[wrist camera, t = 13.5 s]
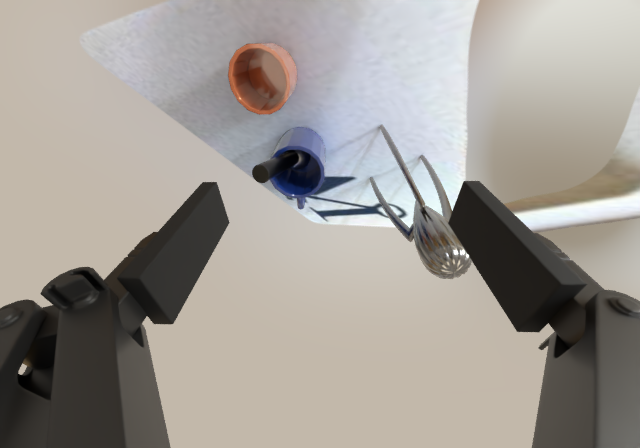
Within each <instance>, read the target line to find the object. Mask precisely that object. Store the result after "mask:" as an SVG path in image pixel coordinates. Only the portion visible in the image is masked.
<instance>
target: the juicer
mask: <svg viewBox="0 0 640 448" xmlns="http://www.w3.org/2000/svg"><path fill="white" fill-rule="evenodd" d="M380 129H381V131H382V133H383V135H384V138H385V140H386V142H387V144H388V146H389V147H390V149H391V151H392V153H393V155H394V157H395V159H396V161H397V163H398V165H399V167H400V169H401V170H402V172H403V174H404V176H405V178H406V180H407V182H408V184H409V186H410V188H411V190H412V192H413V194H414V196H415V199H416V201H415V208H414V218H413V224H412V226H411V227H410V228H409V227H408V226H407V225H406V224H405V223H403V222H402V221H401V220H400V218H399V217H398V216H397V215H396V214H395V213H394V212H393V210H392V209H391V208H390V207H389V205H388V204H387V202H386V201H385V199H384V198H383V196H382V194H381V193H380V191H379V189H378V187H377V185H376V183H375V181H374V179H373V177H370V182H371V185H372V187H373V190H374V192H375V194H376V196H377V199H378V200H379V202H380V204H381V206H382V208H383V209H384V211H385V212H386V214H387V215H388V217H389V218H390V220H391V221H392V222H393V224H394V225H395V226H396V227H397V228H398V230H399V231H400V232H401V233H402V234H403V235H404V236H405V237H406V239H407V240H408V241H410V242H411V241H412V240H413V239H414V240H415V245H416V248H417V251H418V254H419V256H420V259H421V261H422V262H423V264H424V266H425V267H426V268H427V270H428V271H429V272H431V273H432V274H434V275H436V276H437V277H439V278H443V279H446V278H447V279H453V278H455V277H460V276H461V275H462V274H465V273H466V272H467V270H468V268H469V267H470V265H471V263H472V260H471V259H470V257H469V255H468V254H467V252H466V251H465V249H464V248H463V246H462V245H461V243H460V241H459V240H458V238H457V237H456V235H455V234H454V232H453V230H452V229H451V227H450V226H449V224H448V222H449V219H450V217H451V214H452V210H451V206H450V203H449V201H448V198H447V195H446V193H445V190H444V188H443V186H442V184H441V182H440V180H439V178H438V176H437V174H436V173H435V171H434V169H433V168H432V166H431V165H430V163H429V162H428V161H427V159H426V158H425V157H424V156H423V155H422V156H421V157H420V158H421V160H422V161H423V163H424V165H425V167H426V168H427V170H428V172H429V174H430V176H431V178H432V180H433V183H434V185H435V188H436V190H437V193H438V196H439V199H440V203H441V207H442V213H443V216H442V215H440V214H439V213H437V212H436V211H434V210H433V209H431V208H429V207H428V206H426V205H425V203H424V201H423V199H422V197H421V195H420V193H419V191H418V189H417V187H416V185H415V183H414V181H413V179H412V177H411V175H410V173H409V171H408V169H407V167H406V165H405V163H404V161H403V159H402V157H401V155H400V153H399V151H398V149H397V147H396V146H395V144H394V142H393V140H392V139H391V137H390V135H389V134H388V132H387V131H386V129H385V127H384V126H383V125H380Z"/></svg>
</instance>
